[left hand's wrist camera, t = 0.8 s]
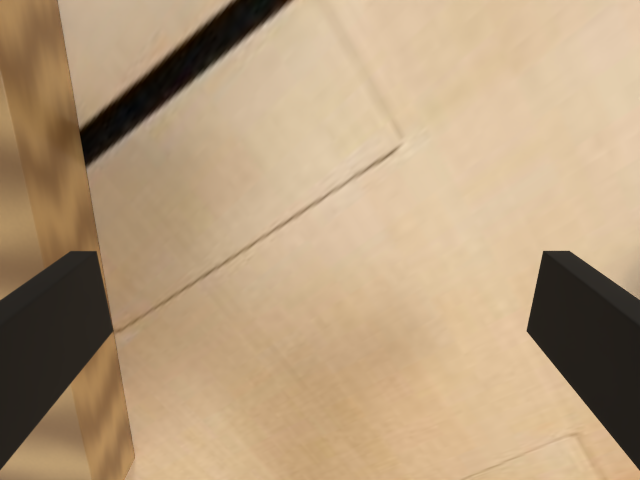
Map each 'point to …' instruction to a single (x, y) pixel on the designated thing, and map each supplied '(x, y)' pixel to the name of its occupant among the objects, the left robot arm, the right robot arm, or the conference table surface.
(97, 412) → the wide beam
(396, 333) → the conference table surface
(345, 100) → the conference table surface
